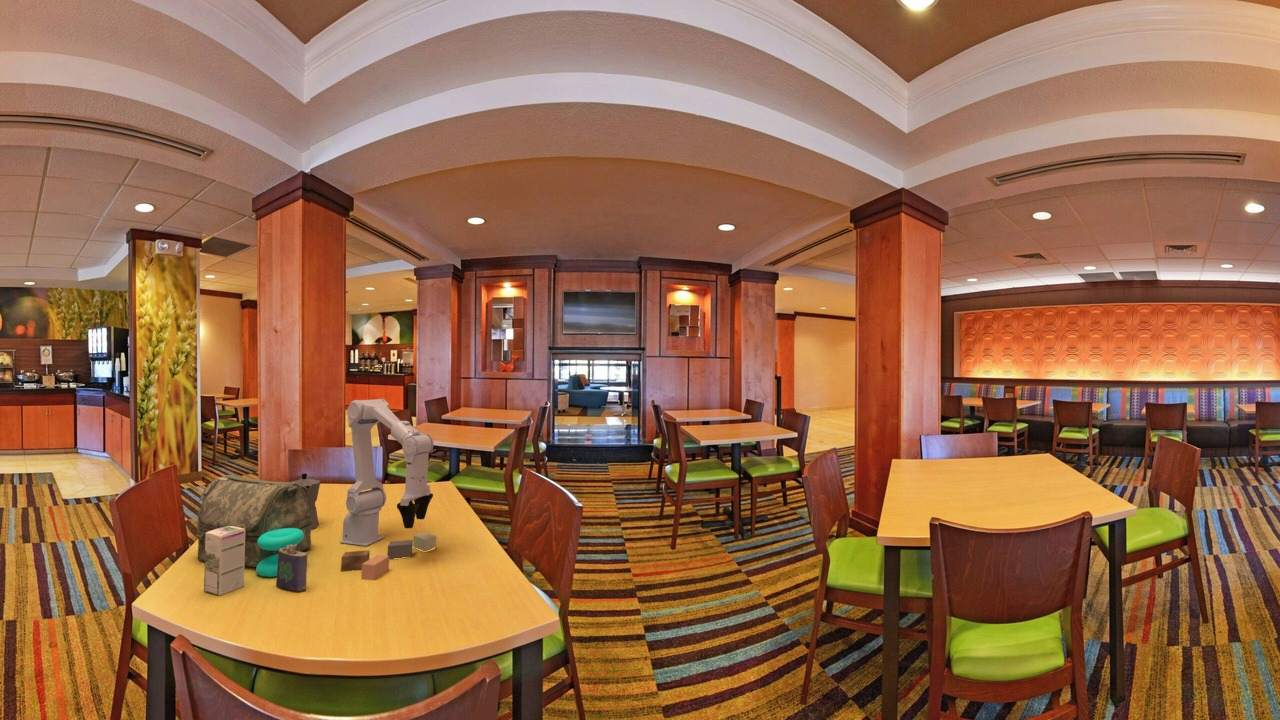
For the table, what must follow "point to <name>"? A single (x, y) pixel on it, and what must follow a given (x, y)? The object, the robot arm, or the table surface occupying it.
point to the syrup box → (224, 560)
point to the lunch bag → (253, 512)
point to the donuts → (276, 547)
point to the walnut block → (354, 560)
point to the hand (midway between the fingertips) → (414, 523)
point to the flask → (291, 569)
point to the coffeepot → (310, 496)
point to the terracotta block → (375, 567)
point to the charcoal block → (399, 549)
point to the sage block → (424, 541)
